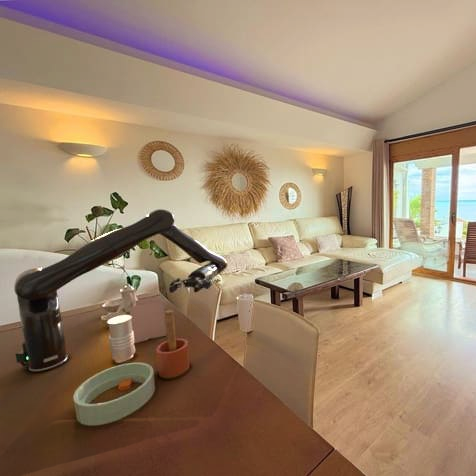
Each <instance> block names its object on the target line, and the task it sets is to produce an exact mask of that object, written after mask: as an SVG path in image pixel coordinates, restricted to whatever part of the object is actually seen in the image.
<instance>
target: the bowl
mask: <svg viewBox="0 0 476 476" xmlns="http://www.w3.org/2000/svg"><path fill="white" fill-rule="evenodd" d="M129 379H132V383H139V384H141V385H139V386H138V387H137V388H135V389H134V390H132V391H130V392H129V393H127V394H125V395H123V396H119V397H118V398H115V399H111V400H109V401H104V402H98V403H92V402H93V401H94V400H95V399H96V398H97V397H99V396H100V395H101V394H103V393H104V392H107V391H108V390H110V389H112V388H114V387H118V386H119V385H120V383H121V381H124V380H129ZM155 391H156V383H155V372H154V368H153V367H152V365H150V364H148V363H145V362H127V363H123V364H119V365H115V366H112V367H109V368H107V369H104V370H102V371H100V372H97V373H96V374H93V375H92V376H91V377H89V378H88V379H86V380H85V381H84V382H83V383H81V384H80V385H79V386H78V387H77V389H76V390H75V391H74V392H73V393H74V394H73V396H72V398H73V399H72V401H73V405H74V412H75V417H76V421H78V422H79V423H80V424H81V425H85V426H101V425H107V424H110V423H113V422H116V421H119V420H122V419H123V418H125V417H127V416H129V415H132V414H133V413H134V412H135V411H137V410H139V409H140V408H141V407H143V406H144V405H145V404H146V403H148V401H150V399H151V398H152V397H153V395H154V394H155Z"/></svg>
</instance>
